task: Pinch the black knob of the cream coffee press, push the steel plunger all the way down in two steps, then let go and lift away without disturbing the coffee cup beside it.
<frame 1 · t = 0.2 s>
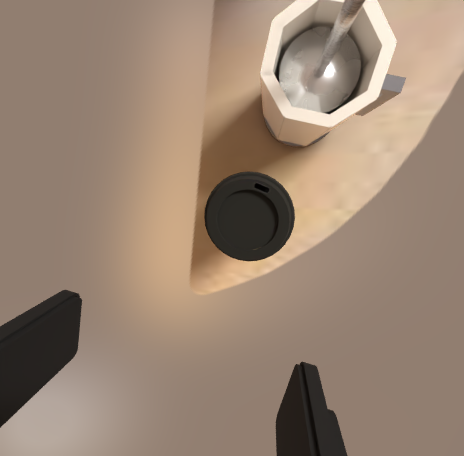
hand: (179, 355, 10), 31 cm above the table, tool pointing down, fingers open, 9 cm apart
coffee cup: (254, 203, 40), on the table
coffee press: (300, 108, 36), on the table
plunger: (347, 14, 15), point 22 cm above the table, slide at 0.0 cm
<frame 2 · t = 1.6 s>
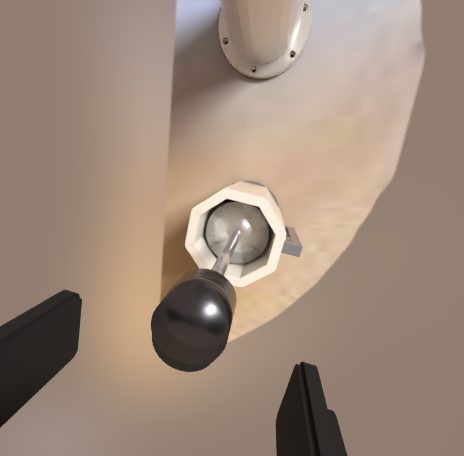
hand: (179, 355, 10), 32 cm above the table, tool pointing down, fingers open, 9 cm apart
coffee cup: (211, 287, 45), on the table
coffee press: (246, 213, 41), on the table
plunger: (224, 259, 20), point 22 cm above the table, slide at 0.0 cm
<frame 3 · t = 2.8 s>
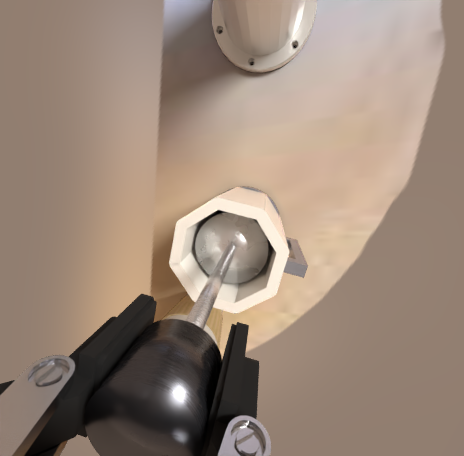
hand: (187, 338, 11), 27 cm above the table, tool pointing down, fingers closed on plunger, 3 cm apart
coffee cup: (205, 302, 41), on the table
coffee press: (244, 222, 37), on the table
plunger: (212, 288, 16), point 22 cm above the table, slide at 0.0 cm, touching gripper
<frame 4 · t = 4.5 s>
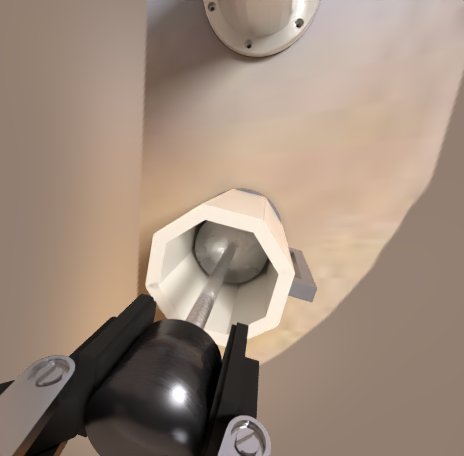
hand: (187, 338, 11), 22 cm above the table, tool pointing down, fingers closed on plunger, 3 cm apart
coffee press: (240, 228, 33), on the table
plunger: (212, 288, 16), point 17 cm above the table, slide at 4.5 cm, touching gripper
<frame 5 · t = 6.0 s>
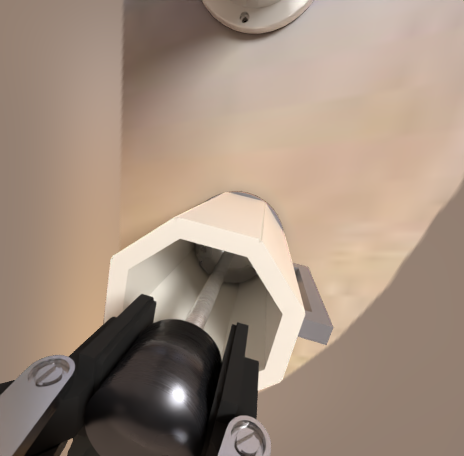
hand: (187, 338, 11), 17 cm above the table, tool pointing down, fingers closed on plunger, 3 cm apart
coffee cup: (187, 338, 32), on the table
coffee press: (236, 238, 28), on the table
plunger: (211, 288, 16), point 13 cm above the table, slide at 9.3 cm, touching gripper
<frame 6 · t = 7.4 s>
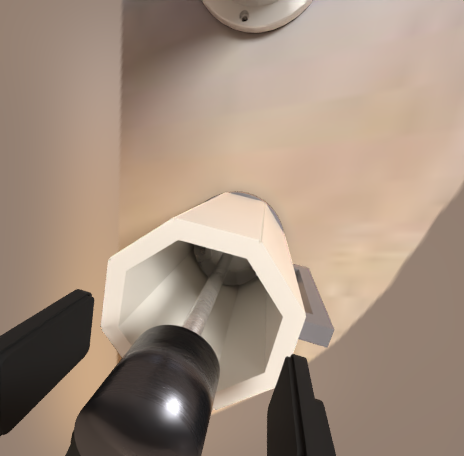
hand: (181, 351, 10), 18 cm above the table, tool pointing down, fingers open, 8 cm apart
coffee press: (236, 238, 28), on the table
plunger: (210, 291, 16), point 13 cm above the table, slide at 9.1 cm
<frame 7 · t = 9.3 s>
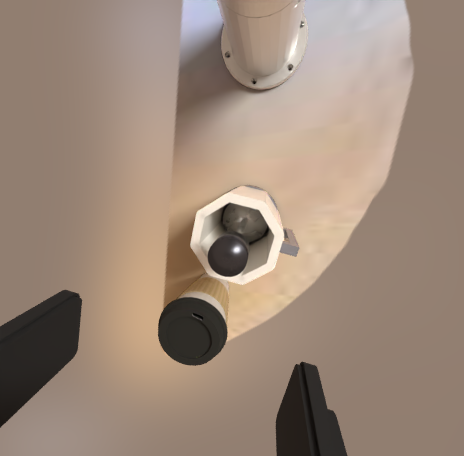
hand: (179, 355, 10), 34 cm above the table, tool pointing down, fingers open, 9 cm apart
coffee cup: (213, 286, 47), on the table
coffee press: (247, 216, 43), on the table
plunger: (239, 233, 31), point 13 cm above the table, slide at 9.1 cm
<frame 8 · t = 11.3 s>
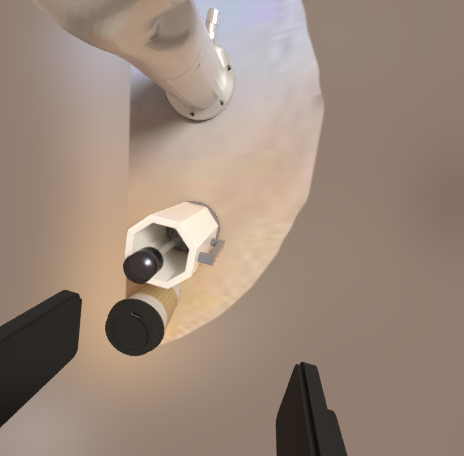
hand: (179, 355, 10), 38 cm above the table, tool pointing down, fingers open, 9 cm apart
coffee cup: (167, 288, 54), on the table
coffee press: (193, 227, 49), on the table
plunger: (169, 245, 37), point 13 cm above the table, slide at 9.1 cm
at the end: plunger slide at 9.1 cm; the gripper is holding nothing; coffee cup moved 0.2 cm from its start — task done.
